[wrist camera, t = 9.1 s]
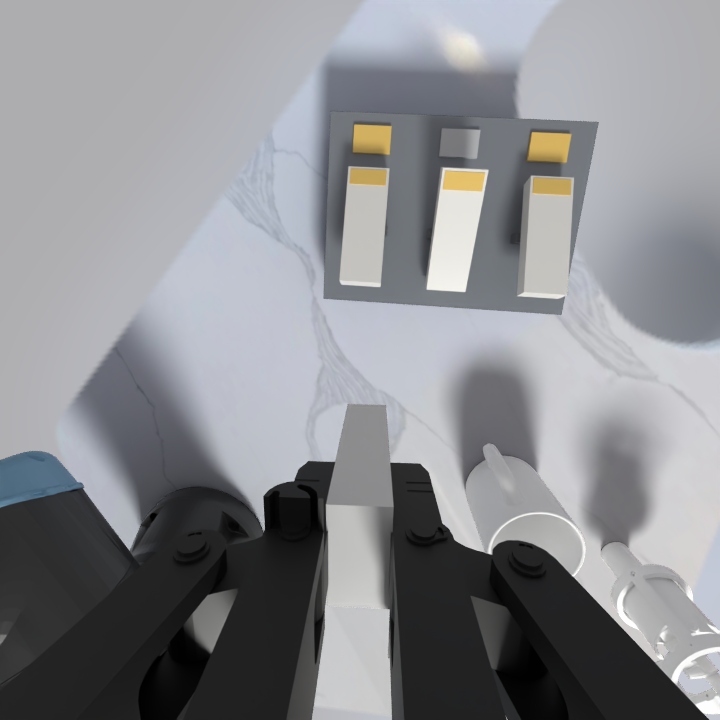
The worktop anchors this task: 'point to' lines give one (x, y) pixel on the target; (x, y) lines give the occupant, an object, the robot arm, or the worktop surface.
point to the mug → (521, 509)
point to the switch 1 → (364, 226)
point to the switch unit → (419, 193)
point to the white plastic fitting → (666, 620)
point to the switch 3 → (545, 237)
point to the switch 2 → (455, 227)
